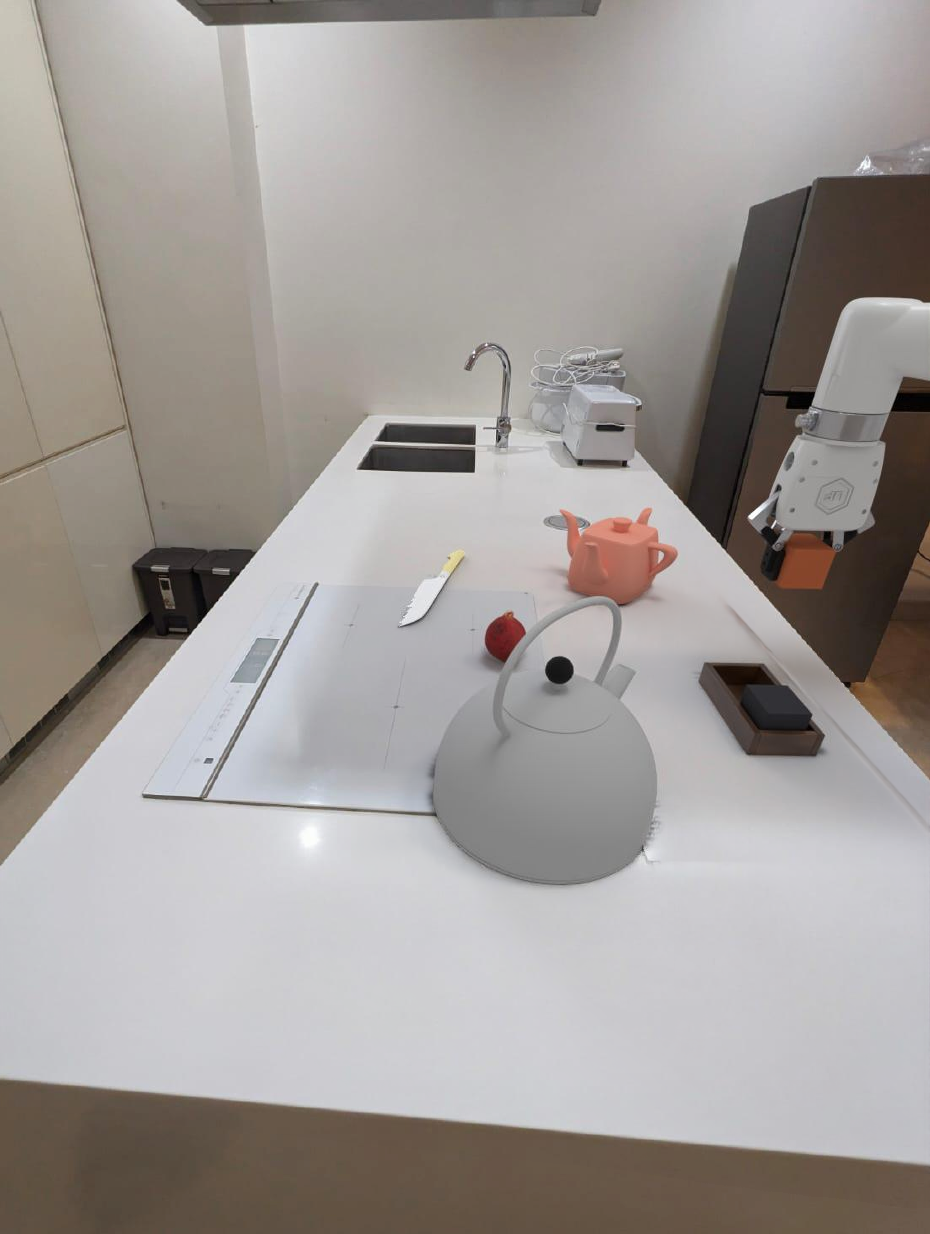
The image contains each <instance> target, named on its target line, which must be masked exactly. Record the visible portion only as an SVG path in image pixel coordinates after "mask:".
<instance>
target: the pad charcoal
mask: <svg viewBox="0 0 930 1234" xmlns="http://www.w3.org/2000/svg"><path fill="white" fill-rule="evenodd" d="M740 705H741V706H742V708H743V709H744V710H745V712H746V713H747V715H748V716H749V717H750V719H751V720H752V721H753V723H754V724H755V726H756V727H757V728H758V730H781V731H806V729H807V727H808V724H809V722H810V720H811V719H812V717H813V715H814V714H813V713H812V712H811V710H810V709H809V707H808V706H806V704H804V702H803V701H802V700H801V699H800V698H799V697H798V695H797V694H796V693H795V692H794V691H793V690H792V689H791V687H790V686H789V685H787V684H782V685H746V687H745V690H744V693H743V696H742V699H741V702H740Z"/></svg>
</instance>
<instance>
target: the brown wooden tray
mask: <svg viewBox="0 0 930 1234" xmlns="http://www.w3.org/2000/svg"><path fill="white" fill-rule="evenodd" d="M698 683H699V684H700V686H701V688H702V689H703V690H704V692H705V694H706V695H707V697H708V698H709V700H710V701H711V703H712V704H713V705H714V708H715V709H716V710H717V712H718V713H719V715H720V716H721V718H722V720H723V721H724V723H725V724H726V726H727V727H728V728H729V730H730V731H731V733H732V735H733V736H734V738H735V739H736V740H737V742H738V743H739V745H740V746H741V748H742V750H743V751H744V753H745V755H746V756H778V757H779V756H781V757H784V756H785V757H786V756H787V757H790V756H791V757H816V756H817V755H818V752H819V750H820V748H821V746H822V744H823V742H824V739H825V737H826V734H825V732H823V731H822V730H821V729H820V727H819V726H818V725H817V724H816V723H815V722H814V720H813V719H812V718H811V720H810V722H809V724H808V727H807V729H806V731H781V730H758V728H757V727H756V726H755V724H754V723H753V721H752V720H751V719H750V717H749V716H748V715H747V713H746V712H745V710H744V709H743V708H742V706H741V705H740V702H741V699H742V696H743V693H744V690H745V687H746V685H783V684H782V683H781V682H780V680H778V678H777V677H776V676H775V674H774V673H772V671H771V670H770V669H769V668H768V667H767V666H766V664H765V663H762V662H761V663H757V662H712V661H711V662H710V661H705V662H703V665H702V668H701V670H700V675H699V677H698Z"/></svg>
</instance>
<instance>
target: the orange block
mask: <svg viewBox="0 0 930 1234" xmlns="http://www.w3.org/2000/svg"><path fill="white" fill-rule="evenodd" d="M783 550H784V551H785V552H786V554H785V557H784V560H783V563H782V566H781V569H780V572H779V575H778V578H777V580H776V581H773V582H774V584H775V585H777V587H779V588H780V589H792V590H793V589H798V590H799V589H800V590H822V589H823V587H824V584H825V582H826V580H827V577H828V573H829V571H830V569H831V566H832V564H833V561H834V558H835V556H836V553H837V552H836V550H834V549H833V548H831V547H830V546H828V545H827V544H826V543H824V542H823V541H821V538H819V537H817V536H816V535H814V534H813V533H796V532H793V533H792V535H791V536H790V538H789V539H788V541H787V542H786V544H785V545H784V547H783Z"/></svg>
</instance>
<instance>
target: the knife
mask: <svg viewBox="0 0 930 1234" xmlns="http://www.w3.org/2000/svg"><path fill="white" fill-rule="evenodd" d="M465 554H466V552H465V550H461V549H458V550H455V551H453V552H451V553H450V554H448V555H447V557H449V560H448V561H446V563H445V564H444V565H443V567H442V569H441V570H440V573H439V574H438V576H437V577H435V578H426V579H423V580H422V582H421V583H420V585H419V586H418V588H417V590H416V591H415V593H414V594H413V596H414V597H415V598H413V597H412V598H413V599H412V598H411V599H412V600H411V599H410V601H413V602H412V603H411V604H410V605H408V604H407V606H406V608H407V607H412V608H410V609H409V610H408V611H407V612H408V613H407V614H406V615H405V616H403V615H402V616H403V617H405V618H404V619H403V620H402V622H401V621H400V620H399V623H402V625H400V626H399V627H402V626H405V625H410V624H412V623H414V622H416V621H418V620H420V619H422V618H423V617H424V616H425V614H427V612H428V610H429V609H430V608H431V606H432V604H433V603H434V601H435V600H436V598H437V596H438V595H439V593H440V592H441V590H442V589H443V586H445V584H446V582H447V580H448V578H449V577H450V576H451V574H452V573H453V571H454V570H455V569H456V567H457V566H458V565H459V563H460V562H461V560H462V559H463V558H464V556H465Z"/></svg>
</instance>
